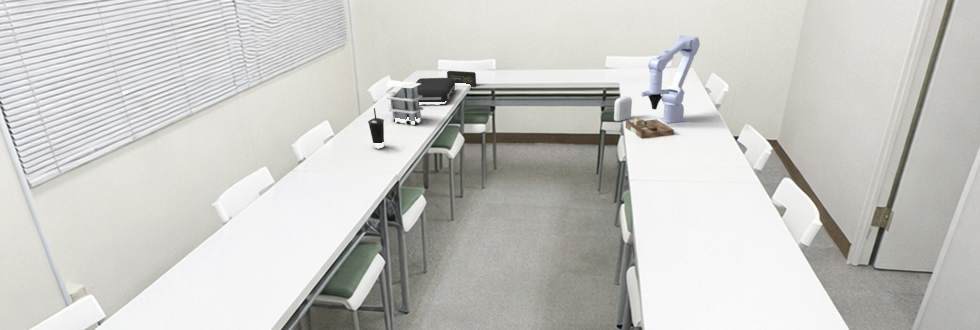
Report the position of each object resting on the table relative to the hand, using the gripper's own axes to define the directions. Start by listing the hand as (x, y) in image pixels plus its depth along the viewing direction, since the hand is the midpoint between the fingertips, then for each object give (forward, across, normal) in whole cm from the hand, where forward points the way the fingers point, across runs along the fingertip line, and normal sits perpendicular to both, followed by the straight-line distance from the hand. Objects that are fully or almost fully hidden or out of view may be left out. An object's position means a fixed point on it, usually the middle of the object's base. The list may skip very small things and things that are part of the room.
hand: (654, 108), depth 289 cm
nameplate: (+10, +78, -124) cm, 147 cm away
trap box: (+9, +5, +6) cm, 12 cm away
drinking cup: (+10, +138, -16) cm, 139 cm away
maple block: (+7, +10, +5) cm, 13 cm away
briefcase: (+10, +104, -100) cm, 145 cm away
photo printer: (+10, +9, -17) cm, 21 cm away
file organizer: (+10, +123, -54) cm, 135 cm away
